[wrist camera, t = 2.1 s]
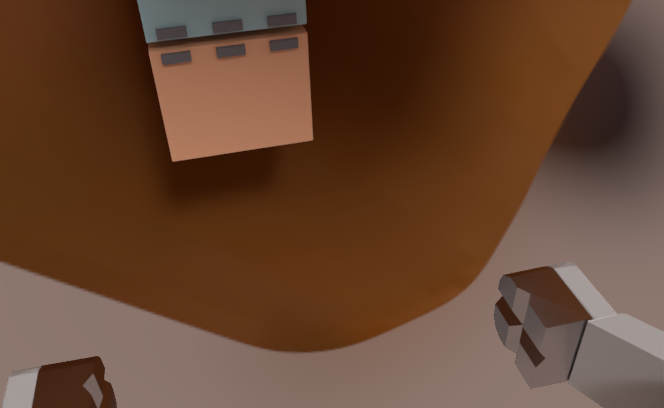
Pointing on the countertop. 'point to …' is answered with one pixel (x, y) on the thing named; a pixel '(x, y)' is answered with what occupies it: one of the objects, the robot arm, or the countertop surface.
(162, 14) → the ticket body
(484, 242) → the countertop surface
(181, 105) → the block
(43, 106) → the countertop surface
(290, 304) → the countertop surface
